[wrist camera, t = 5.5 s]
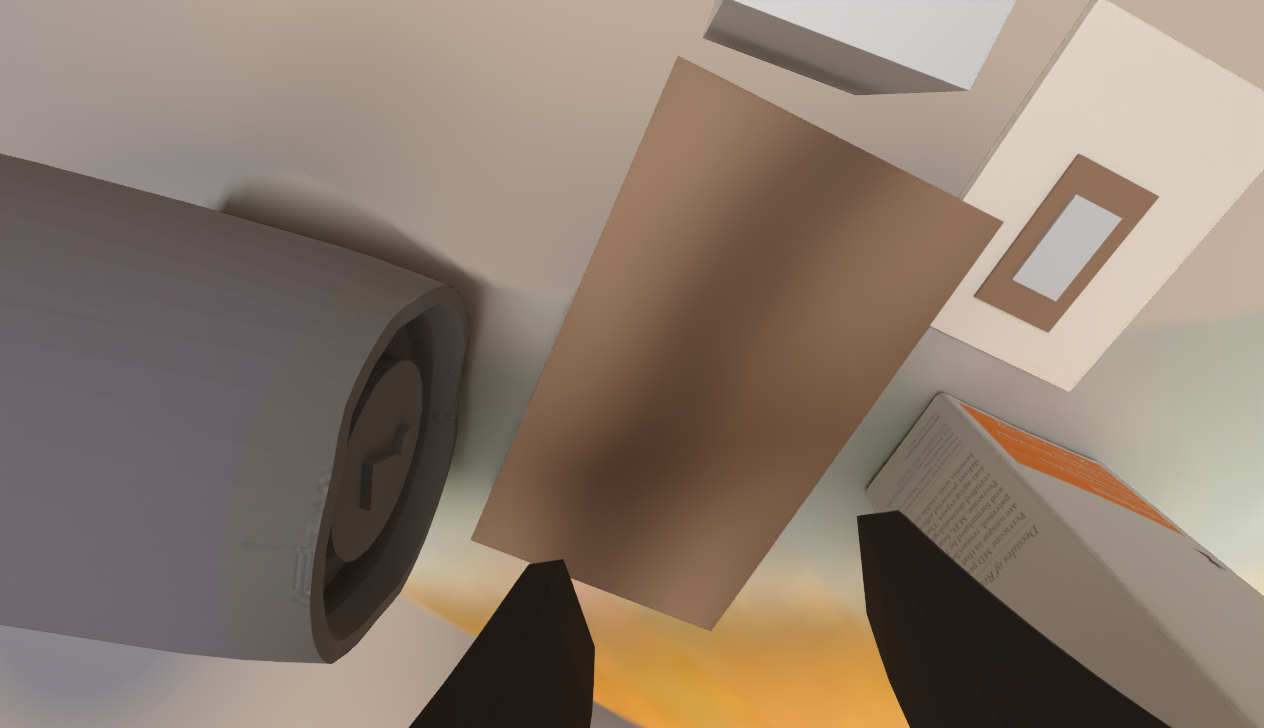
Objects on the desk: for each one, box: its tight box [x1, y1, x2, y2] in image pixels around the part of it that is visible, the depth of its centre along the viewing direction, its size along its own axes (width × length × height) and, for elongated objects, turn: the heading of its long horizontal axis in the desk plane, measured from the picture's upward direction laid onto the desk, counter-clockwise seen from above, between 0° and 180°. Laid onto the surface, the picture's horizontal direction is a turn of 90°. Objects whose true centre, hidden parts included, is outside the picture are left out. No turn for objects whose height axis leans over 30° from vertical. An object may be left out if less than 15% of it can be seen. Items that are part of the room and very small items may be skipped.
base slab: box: [471, 56, 1004, 631], centre depth 16 cm, size 8×14×2 cm, turn 156°
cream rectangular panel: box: [930, 0, 1264, 392], centre depth 15 cm, size 6×8×1 cm
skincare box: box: [866, 393, 1264, 728], centre depth 13 cm, size 6×4×12 cm
